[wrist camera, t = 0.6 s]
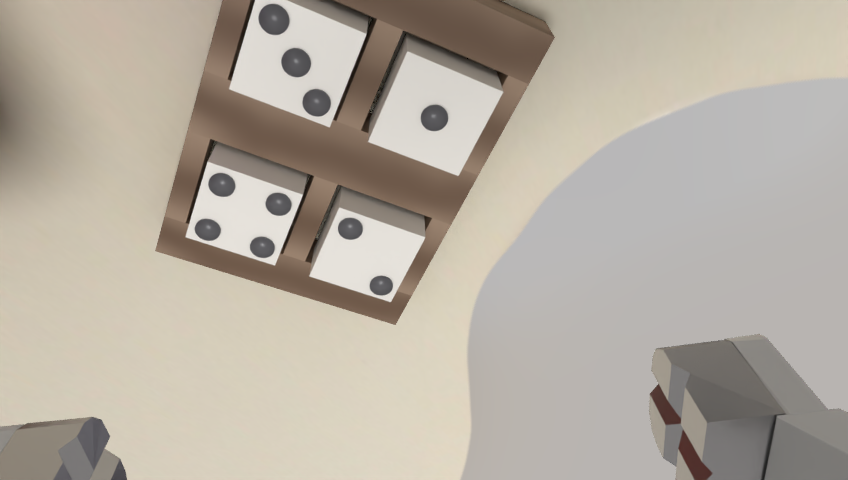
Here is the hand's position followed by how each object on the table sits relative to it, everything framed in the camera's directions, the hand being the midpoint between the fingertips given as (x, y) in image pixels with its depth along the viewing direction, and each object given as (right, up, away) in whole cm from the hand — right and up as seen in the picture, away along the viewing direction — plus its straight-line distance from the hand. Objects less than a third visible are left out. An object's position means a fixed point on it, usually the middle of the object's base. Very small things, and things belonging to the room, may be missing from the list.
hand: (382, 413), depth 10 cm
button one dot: (+1, +12, +32) cm, 34 cm away
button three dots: (-7, +14, +30) cm, 34 cm away
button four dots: (-11, +6, +35) cm, 38 cm away
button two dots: (-3, +3, +38) cm, 38 cm away
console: (-5, +10, +35) cm, 37 cm away
